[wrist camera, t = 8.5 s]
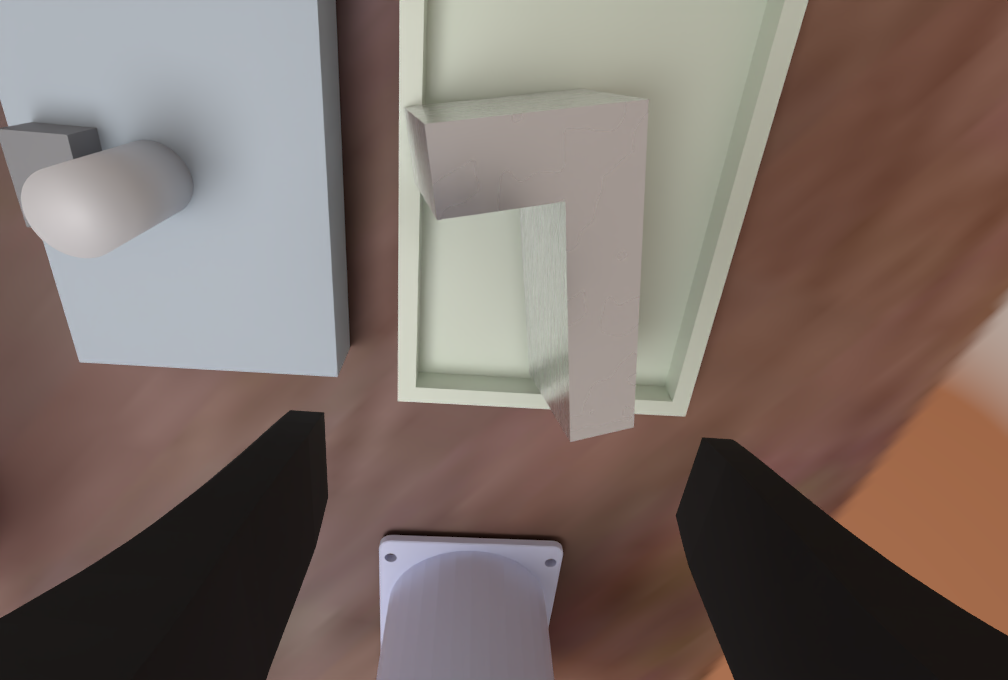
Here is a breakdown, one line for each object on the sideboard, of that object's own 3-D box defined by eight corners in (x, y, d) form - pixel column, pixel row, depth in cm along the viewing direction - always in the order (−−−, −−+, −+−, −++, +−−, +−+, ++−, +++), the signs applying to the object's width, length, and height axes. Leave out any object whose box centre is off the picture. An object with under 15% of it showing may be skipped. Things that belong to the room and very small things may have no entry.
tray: (672, 391, 22) (685, 416, 20) (403, 376, 21) (397, 400, 19) (794, -56, 15) (827, -65, 14) (408, -103, 14) (400, -119, 13)
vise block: (350, 347, 20) (309, 444, 15) (115, 333, 20) (-4, 430, 15) (333, -59, 15) (260, -107, 10) (4, -97, 14) (-249, -168, 9)
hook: (582, 362, 20) (633, 427, 17) (445, 391, 19) (469, 465, 16) (581, 88, 16) (648, 99, 12) (404, 106, 15) (424, 123, 11)
